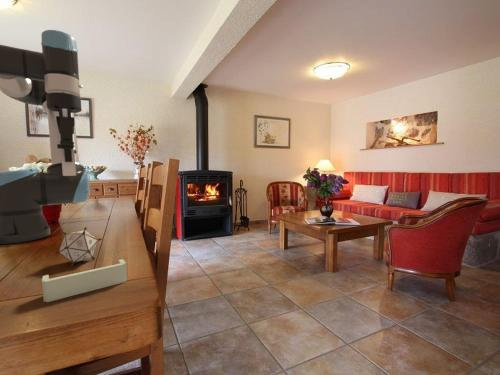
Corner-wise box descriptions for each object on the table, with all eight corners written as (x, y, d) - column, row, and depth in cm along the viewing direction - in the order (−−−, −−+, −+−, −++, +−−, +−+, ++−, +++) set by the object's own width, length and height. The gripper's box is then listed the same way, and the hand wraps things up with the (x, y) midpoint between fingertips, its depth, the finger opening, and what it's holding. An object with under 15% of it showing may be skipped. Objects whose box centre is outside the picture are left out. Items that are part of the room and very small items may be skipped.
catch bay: (44, 295, 45) (42, 275, 45) (123, 275, 53) (122, 259, 53) (43, 303, 43) (41, 282, 42) (127, 281, 50) (126, 263, 50)
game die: (83, 274, 65) (95, 236, 70) (100, 267, 60) (112, 227, 66) (42, 265, 59) (59, 225, 64) (57, 257, 54) (74, 215, 60)
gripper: (82, 83, 60) (88, 175, 62) (79, 107, 81) (84, 175, 82) (40, 78, 56) (48, 176, 57) (49, 104, 77) (55, 176, 78)
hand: (69, 175), depth 70 cm, fingers open, 13 cm apart
